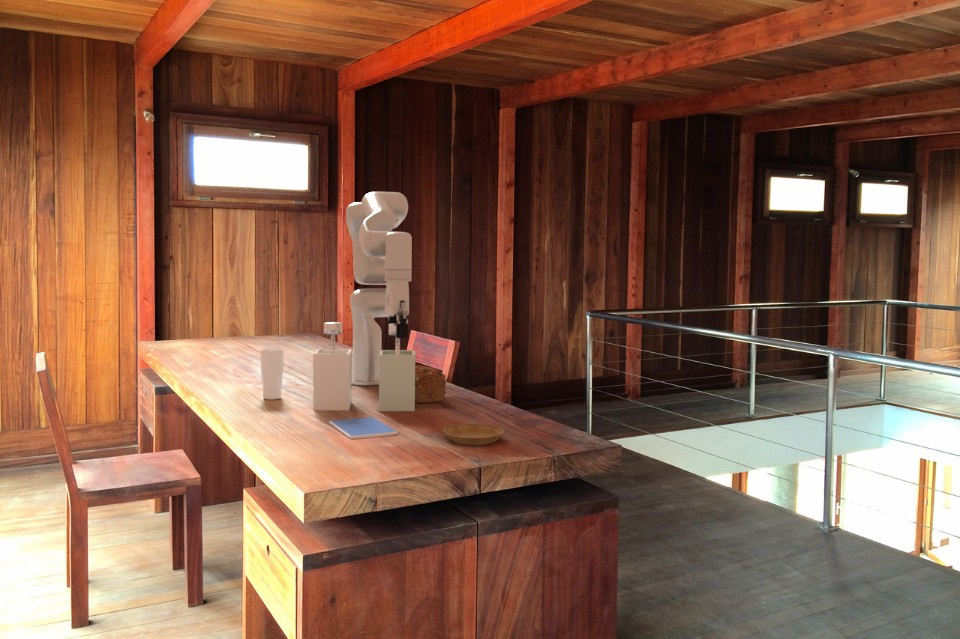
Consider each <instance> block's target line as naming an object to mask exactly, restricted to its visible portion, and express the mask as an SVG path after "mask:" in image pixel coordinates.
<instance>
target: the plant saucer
mask: <svg viewBox="0 0 960 639" xmlns="http://www.w3.org/2000/svg"><path fill="white" fill-rule="evenodd" d="M504 432H505V430H504V429H503V428H502V427H499V426H497V425H491V424H487V423H486V424H484V423H460V424H454V425H450V426H447V427H445V428H443V433H444V434H445V436H446V437H447V438H448V439H449V440H451V442H453V443H455V444H458V445H463V444H465V445H464V446H484V444H486V445H491V444H493V442H494V443H495V442H496V441H498V440H499V439H500V438H501V436H502V435H503V434H504ZM476 437H477V438H476ZM490 443H491V444H490Z"/></svg>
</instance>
